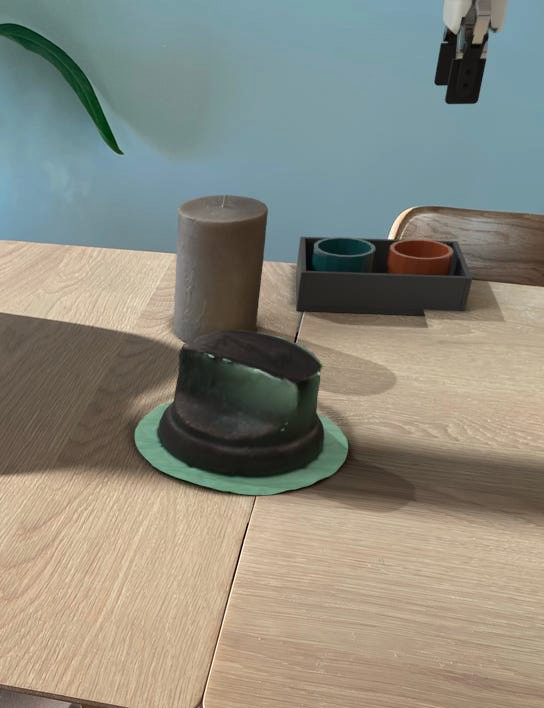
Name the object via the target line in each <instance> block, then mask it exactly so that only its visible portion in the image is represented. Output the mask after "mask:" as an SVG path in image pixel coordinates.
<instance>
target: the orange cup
mask: <svg viewBox="0 0 544 708" xmlns="http://www.w3.org/2000/svg"><path fill="white" fill-rule="evenodd" d="M400 240H401V241H398V242H395V243H393V244H392V245H391V246H390V248H389V254H388V259H387V265H386V270H385V274H411V275H440V276H448V274H449V270H450V265H451V261H452V256H453V250H452V248H451V247H449V246H448V245H446V244H443V243H440V242H437V241H438V240H433V241H431V240H429V239H421V238H420V239H419V238H418V239H417V238H412V239H400Z"/></svg>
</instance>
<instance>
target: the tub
mask: <svg viewBox="0 0 544 708" xmlns="http://www.w3.org/2000/svg"><path fill="white" fill-rule="evenodd" d="M326 238H330V237H326V236H325V237H323V236H300V237H299V245H298V253H297V254H298V255H297V261H296V269H295V310H296V311H297V312H317V313H318V312H319V313H341V314H343V313H344V314H367V315H368V314H369V315H388V316H389V315H392V316H416V317H418V316H419V317H425V316H426V315H425V311H448V312H449V311H450V312H466V311H465V310H466V307H467V303H468V298H469V295H470V290H471V286H472V282H473V277H472V274H471V272H470V269H469V267H468V264H467V261H466V260H465V256H464V253H463V252H462V249H461V246H460V244H459V241H457V240H436V241H437V242H440V243H443V244H446V245H448V246H449V247H451V248H452V250H453V256H452V261H451V265H450V270H449V274H448V276H440V275H411V274H385V270H386V265H387V259H388V254H389V248H390V246H391V245H392V244H393V243H395V242H398V241H401V240H402V239H399V238H398V239H393V238H364V237H363V238H361V237H359V238H358V237H355V238H356V239H361V240H364V241H368V242H370V243H371V244H373V245H374V246H375V256H374V261H373V267H372V273H352V272H323V271H310V270H311V263H312V255H313V248H314V244H315V243H316V242H317V241H319V240H322V239H326ZM431 241H434V240H431Z"/></svg>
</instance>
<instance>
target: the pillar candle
mask: <svg viewBox="0 0 544 708" xmlns="http://www.w3.org/2000/svg"><path fill="white" fill-rule="evenodd" d="M268 212H269V209H268V206H267V204H266V203H265V202H262V200H261V201H260V200H259V199H256V198H253V197H249V196H241V195H233V194H219V195H218V194H217V195H216V194H215V195H206V196H200V197H199V196H197V197H194V198H190V199H188V200H186V201H183V203H181V204H179V205H178V207H177V236H176V237H177V238H176V261H175V280H174V281H175V282H174V305H173V307H174V308H173V331H174V334H175V335H176V337H177V338H178V339H179V340H181V341H182V342H185V343H187V342H188V341H190V340H192V339H194V338H197V337H200V336H203V335H207V334H210V333H213V332H217V331H227V330H244V331H252V332H258V327H257V322H258V313H259V303H260V294H261V286H262V285H261V284H262V274H263V266H264V257H265V247H266V235H267V224H268V214H269V213H268Z"/></svg>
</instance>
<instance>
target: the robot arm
mask: <svg viewBox="0 0 544 708" xmlns="http://www.w3.org/2000/svg"><path fill="white" fill-rule="evenodd" d="M443 2H444V3H443V11H442V21H443V24H445V27H444V29H443V30H444V31H443V35H442V42H441V43H440V46H439V51H438V58H437V62H436V63H437V64H436V68H435V74H434V81H433V82H434V85H436V86H439V87H441V86H446V90H445V96H444V102H445V103H446V104H447V105H475V104H477V103H478V102H479V98H480V93H481V88H482V85H483V84H482V83H483V78H484V74H485V70H486V64H487V55H488V49H489V48H488V47H489V38H490V36H489V35H490V34H489V33H490V32H492V34H498V33H500V32H501V31H502V30H503V28H504V26H505V20H506V14H507V8H508V4H509V3H508V2H509V0H444V1H443Z"/></svg>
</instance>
